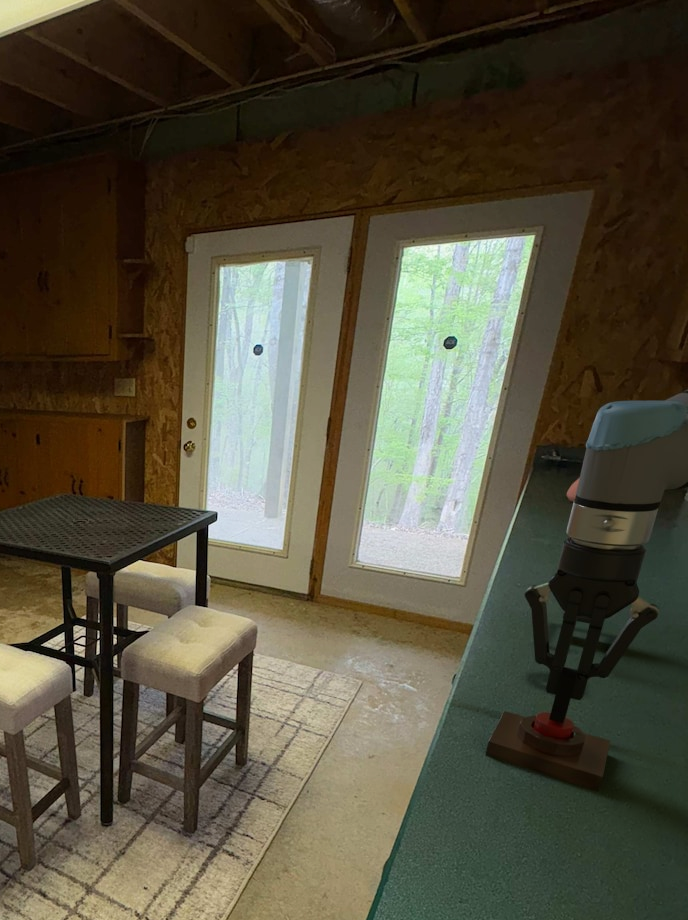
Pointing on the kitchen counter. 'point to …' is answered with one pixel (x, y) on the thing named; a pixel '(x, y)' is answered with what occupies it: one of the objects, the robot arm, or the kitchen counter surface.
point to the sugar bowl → (573, 491)
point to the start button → (553, 727)
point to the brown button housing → (549, 751)
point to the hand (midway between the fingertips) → (557, 716)
